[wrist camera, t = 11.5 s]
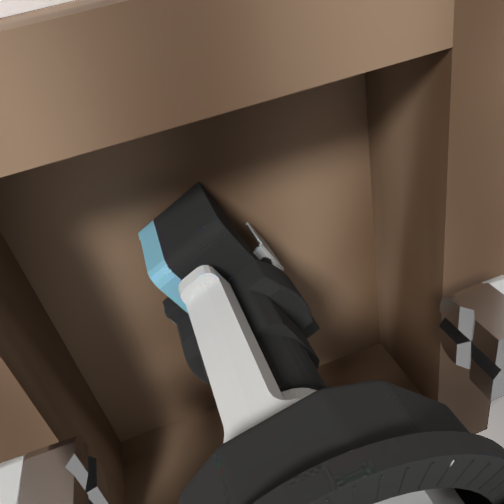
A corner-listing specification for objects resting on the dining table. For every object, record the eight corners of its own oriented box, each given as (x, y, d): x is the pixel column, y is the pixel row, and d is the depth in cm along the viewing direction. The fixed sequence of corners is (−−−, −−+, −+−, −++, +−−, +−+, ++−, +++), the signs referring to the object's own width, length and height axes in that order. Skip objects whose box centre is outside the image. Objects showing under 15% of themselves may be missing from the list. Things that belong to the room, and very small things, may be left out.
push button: (347, 282, 16) (635, 616, 8) (225, 377, 16) (370, 789, 8) (231, 132, 12) (546, 470, 4) (77, 262, 13) (66, 808, 4)
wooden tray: (410, -80, 12) (559, -105, 8) (412, 344, 20) (486, 428, 16) (-191, 64, 10) (-360, 119, 6) (85, 471, 18) (86, 601, 14)
